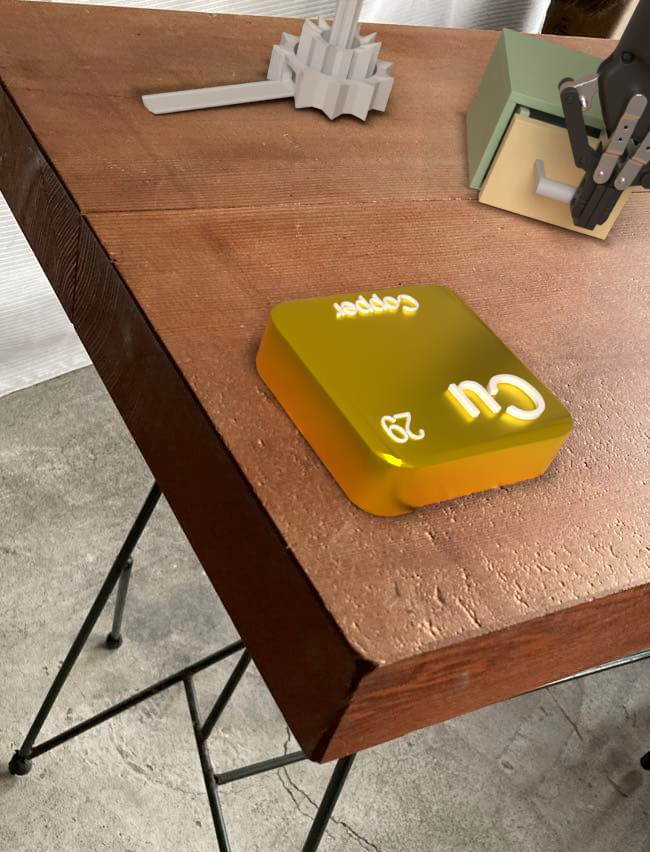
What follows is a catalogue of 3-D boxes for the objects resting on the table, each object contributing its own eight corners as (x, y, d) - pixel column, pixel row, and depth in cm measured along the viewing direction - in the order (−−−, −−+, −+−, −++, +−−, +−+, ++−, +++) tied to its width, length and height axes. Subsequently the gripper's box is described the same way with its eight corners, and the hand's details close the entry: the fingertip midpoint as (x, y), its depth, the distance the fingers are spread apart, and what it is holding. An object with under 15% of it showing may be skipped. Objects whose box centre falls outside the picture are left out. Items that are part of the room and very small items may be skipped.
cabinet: (601, 234, 86) (657, 136, 80) (466, 193, 85) (511, 90, 79) (584, 160, 96) (632, 68, 90) (463, 123, 95) (503, 26, 89)
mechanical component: (132, 111, 83) (153, -88, 72) (320, 59, 97) (363, -114, 86) (225, 176, 79) (263, -24, 68) (407, 111, 93) (463, -63, 82)
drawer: (611, 270, 80) (659, 189, 75) (480, 230, 79) (519, 145, 74) (587, 168, 93) (627, 93, 88) (473, 133, 92) (507, 55, 87)
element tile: (424, 330, 69) (450, 272, 66) (556, 478, 62) (593, 421, 58) (242, 356, 62) (260, 293, 59) (365, 527, 55) (395, 466, 51)
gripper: (622, -24, 61) (504, 223, 74) (817, 39, 62) (668, 272, 75) (607, -59, 66) (499, 177, 79) (787, 0, 67) (652, 223, 80)
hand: (582, 223), depth 77 cm, fingers closed
